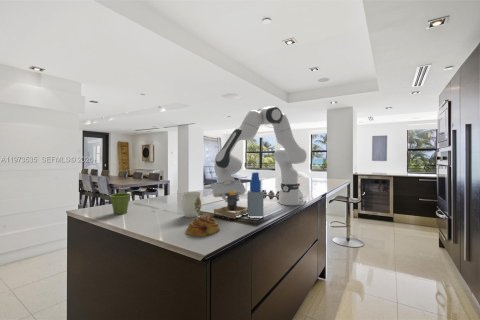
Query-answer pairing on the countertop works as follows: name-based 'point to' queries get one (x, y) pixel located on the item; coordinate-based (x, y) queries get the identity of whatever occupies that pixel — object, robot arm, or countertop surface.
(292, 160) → the robot arm
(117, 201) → the plant pot
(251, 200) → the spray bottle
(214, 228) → the pastry
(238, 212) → the birch tray
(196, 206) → the pitcher
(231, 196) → the black shaker
